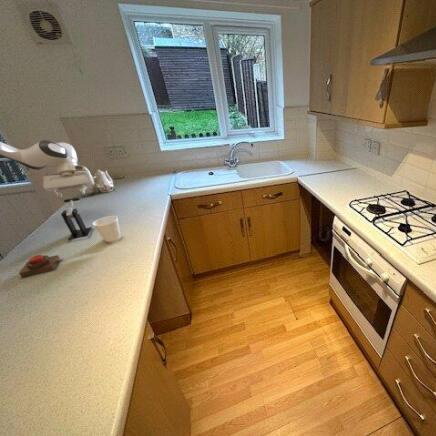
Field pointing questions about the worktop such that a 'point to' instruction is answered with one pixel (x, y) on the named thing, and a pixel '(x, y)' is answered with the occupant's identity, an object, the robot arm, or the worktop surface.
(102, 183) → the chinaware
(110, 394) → the worktop surface
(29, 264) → the button block
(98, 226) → the cup
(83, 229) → the bracket
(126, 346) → the worktop surface
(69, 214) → the lever
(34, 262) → the button
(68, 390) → the worktop surface
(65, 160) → the robot arm
